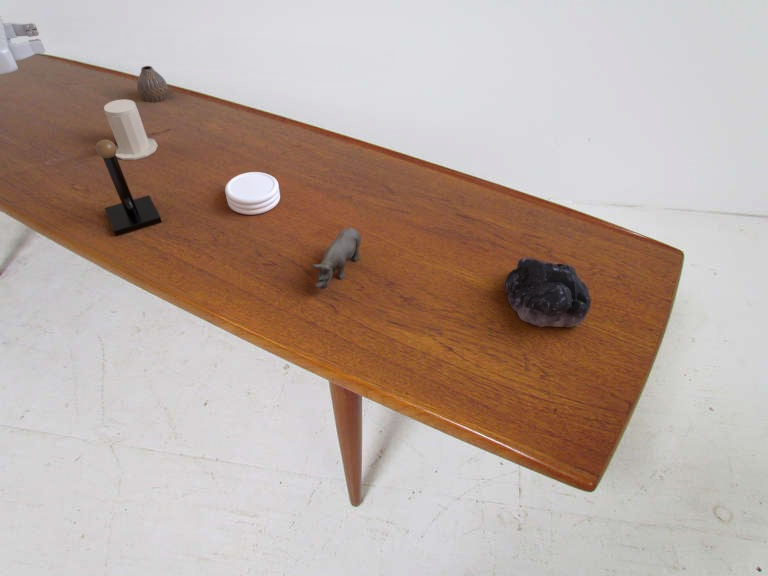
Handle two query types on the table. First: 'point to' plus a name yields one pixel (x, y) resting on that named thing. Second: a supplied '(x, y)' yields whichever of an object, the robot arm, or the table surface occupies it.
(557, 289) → the crystal cluster
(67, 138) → the table surface
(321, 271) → the rhino figurine
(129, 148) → the hat
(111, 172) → the stand
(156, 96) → the vase
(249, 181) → the white round stack
